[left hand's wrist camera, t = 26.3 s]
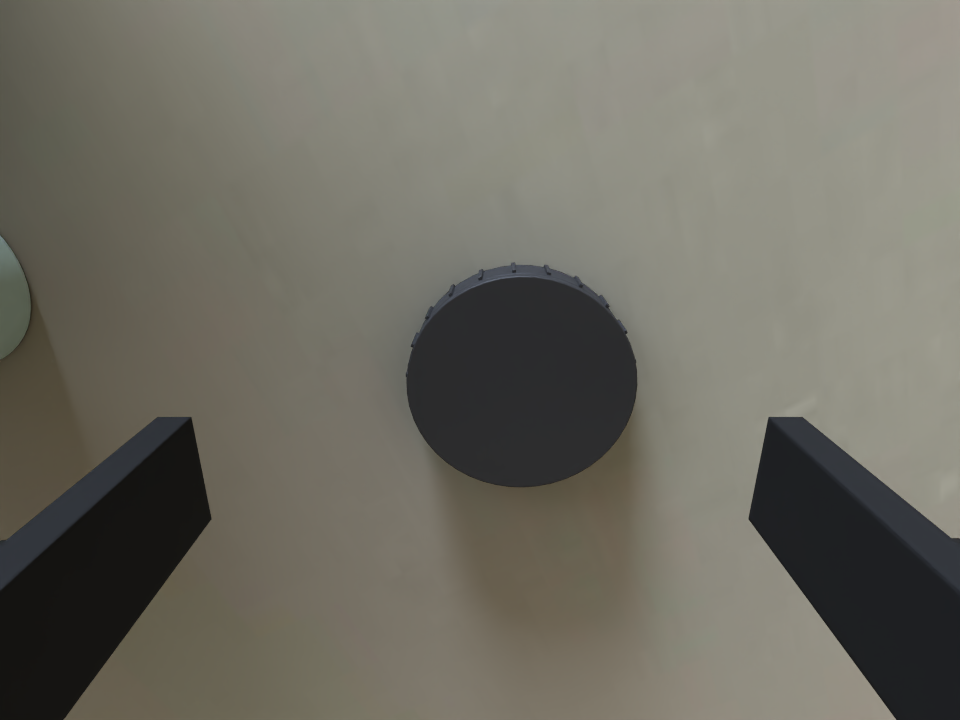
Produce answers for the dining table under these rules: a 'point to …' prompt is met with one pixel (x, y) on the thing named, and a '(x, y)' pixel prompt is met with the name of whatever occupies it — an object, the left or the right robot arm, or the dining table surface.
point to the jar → (12, 301)
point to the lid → (521, 376)
